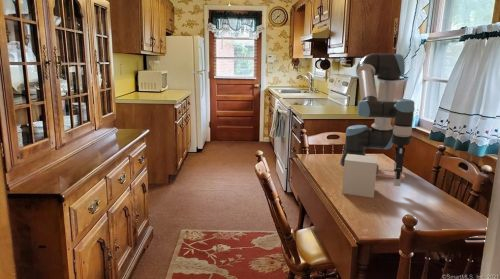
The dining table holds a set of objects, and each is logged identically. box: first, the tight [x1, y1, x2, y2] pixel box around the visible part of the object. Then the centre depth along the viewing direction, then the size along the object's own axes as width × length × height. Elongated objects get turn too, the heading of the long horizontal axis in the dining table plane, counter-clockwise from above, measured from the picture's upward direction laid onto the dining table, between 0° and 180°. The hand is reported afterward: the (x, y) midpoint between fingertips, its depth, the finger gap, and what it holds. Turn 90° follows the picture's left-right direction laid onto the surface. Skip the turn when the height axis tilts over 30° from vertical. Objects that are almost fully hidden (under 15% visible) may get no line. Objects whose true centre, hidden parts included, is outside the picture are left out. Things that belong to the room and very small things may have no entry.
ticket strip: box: [376, 169, 406, 180], centre depth 170 cm, size 6×24×1 cm, turn 70°
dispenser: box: [341, 154, 379, 198], centre depth 172 cm, size 12×15×16 cm
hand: (396, 181), depth 167 cm, fingers open, 13 cm apart
